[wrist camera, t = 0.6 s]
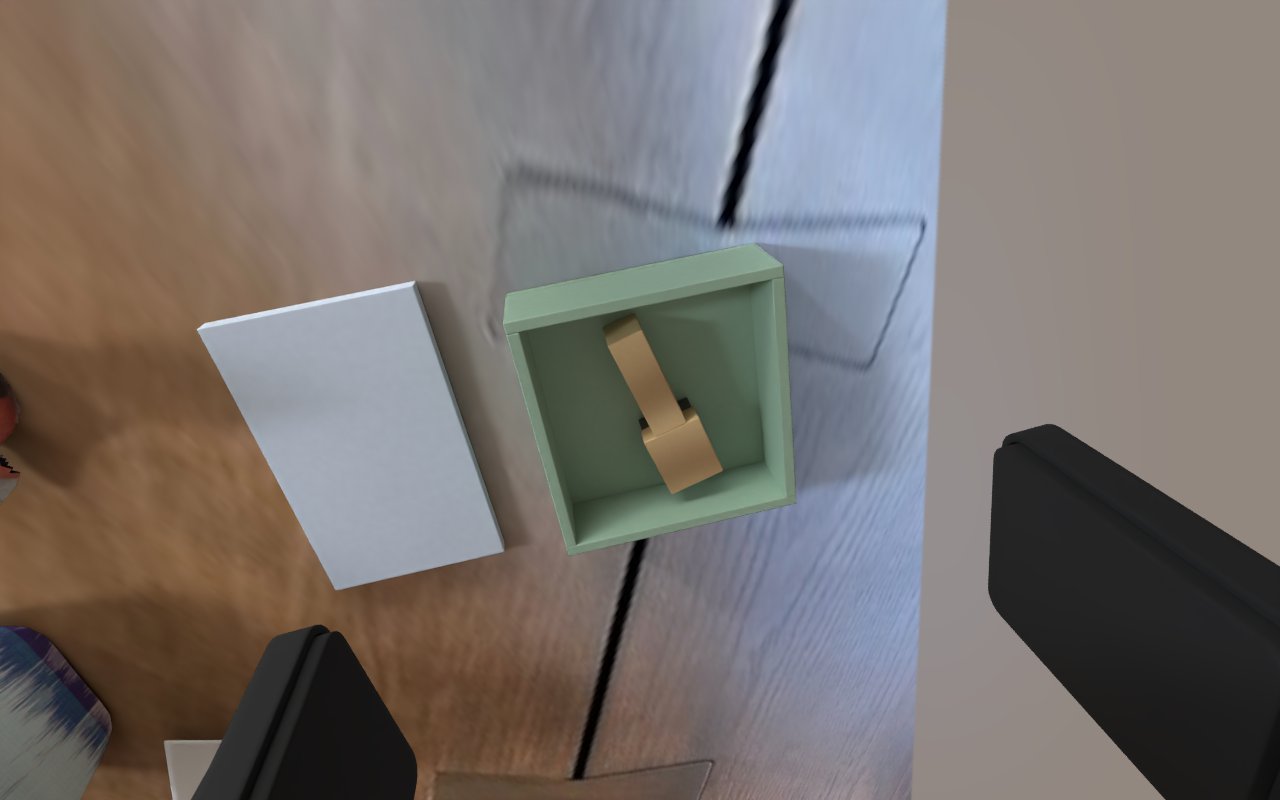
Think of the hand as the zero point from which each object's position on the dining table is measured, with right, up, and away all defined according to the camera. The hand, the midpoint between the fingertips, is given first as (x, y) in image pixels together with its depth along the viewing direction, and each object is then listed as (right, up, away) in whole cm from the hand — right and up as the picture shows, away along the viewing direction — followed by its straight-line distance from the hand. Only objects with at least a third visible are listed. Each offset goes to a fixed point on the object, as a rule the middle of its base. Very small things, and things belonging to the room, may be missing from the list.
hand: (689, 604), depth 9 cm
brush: (0, +4, +33) cm, 33 cm away
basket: (0, +4, +33) cm, 34 cm away
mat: (-18, 0, +32) cm, 37 cm away
